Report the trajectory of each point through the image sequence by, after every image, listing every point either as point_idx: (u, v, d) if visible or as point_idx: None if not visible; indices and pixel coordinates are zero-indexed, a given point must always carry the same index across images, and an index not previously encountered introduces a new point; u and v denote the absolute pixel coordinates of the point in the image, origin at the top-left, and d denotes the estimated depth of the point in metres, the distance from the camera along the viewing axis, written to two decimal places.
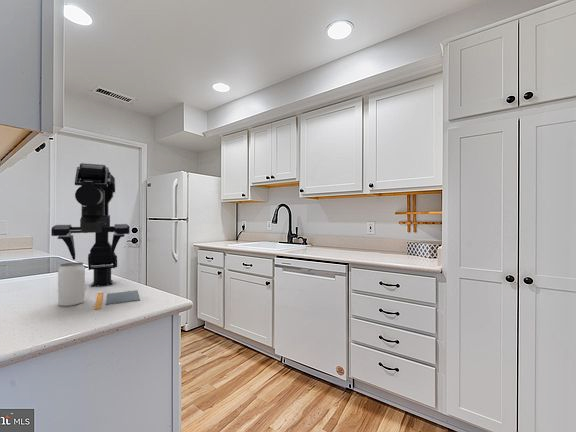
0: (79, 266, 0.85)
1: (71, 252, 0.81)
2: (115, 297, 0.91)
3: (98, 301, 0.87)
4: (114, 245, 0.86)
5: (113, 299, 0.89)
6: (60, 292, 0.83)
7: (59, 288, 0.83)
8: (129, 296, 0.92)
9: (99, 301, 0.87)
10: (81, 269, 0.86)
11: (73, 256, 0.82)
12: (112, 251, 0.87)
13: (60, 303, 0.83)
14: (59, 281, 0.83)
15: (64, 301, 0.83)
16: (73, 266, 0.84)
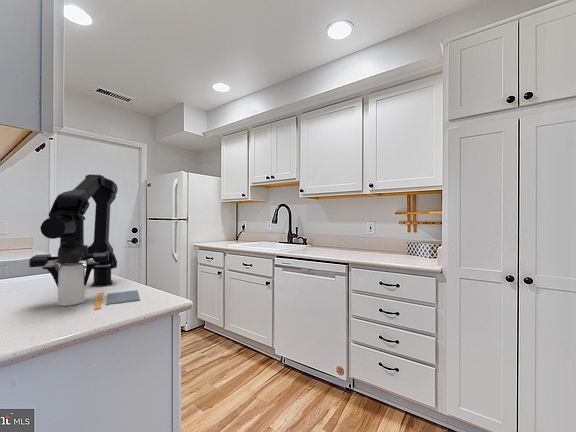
0: (79, 266, 0.85)
1: (56, 281, 0.83)
2: (115, 297, 0.91)
3: (98, 301, 0.87)
4: (88, 273, 0.87)
5: (113, 299, 0.89)
6: (60, 292, 0.83)
7: (59, 288, 0.83)
8: (129, 296, 0.92)
9: (99, 301, 0.87)
10: (80, 269, 0.86)
11: None
12: (86, 279, 0.87)
13: (60, 303, 0.83)
14: (59, 281, 0.83)
15: (64, 301, 0.83)
16: (73, 266, 0.84)
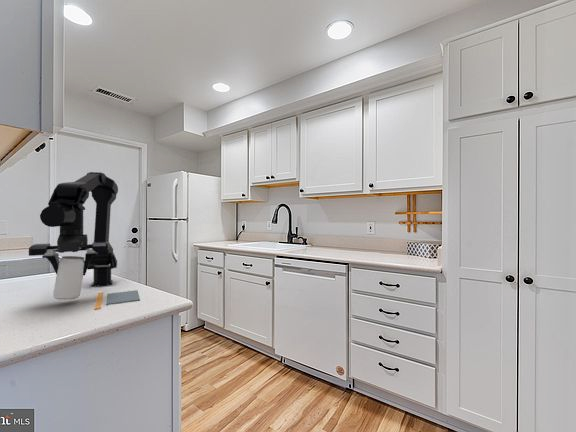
0: (80, 260, 0.86)
1: (56, 270, 0.83)
2: (115, 297, 0.91)
3: (98, 301, 0.87)
4: (87, 263, 0.87)
5: (113, 299, 0.89)
6: (57, 284, 0.83)
7: (57, 280, 0.83)
8: (129, 296, 0.92)
9: (99, 301, 0.87)
10: (81, 263, 0.86)
11: None
12: (85, 269, 0.87)
13: (55, 295, 0.82)
14: (58, 273, 0.83)
15: (59, 293, 0.82)
16: (74, 259, 0.84)
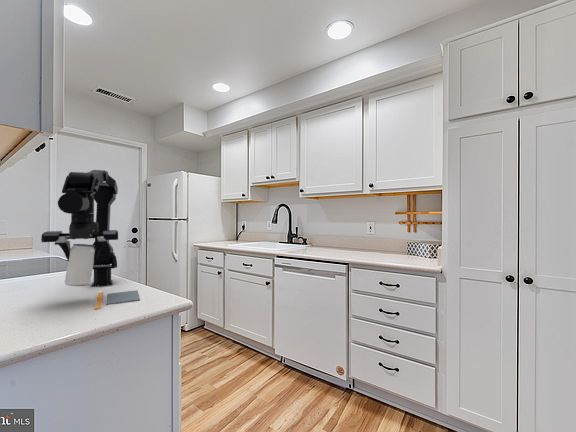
0: (91, 248, 0.87)
1: (67, 257, 0.85)
2: (115, 297, 0.91)
3: (98, 301, 0.87)
4: (97, 251, 0.88)
5: (113, 299, 0.89)
6: (69, 271, 0.84)
7: (68, 267, 0.84)
8: (129, 296, 0.92)
9: (99, 301, 0.87)
10: (92, 251, 0.87)
11: None
12: (95, 257, 0.88)
13: (67, 282, 0.84)
14: (69, 260, 0.84)
15: (71, 280, 0.84)
16: (85, 247, 0.86)
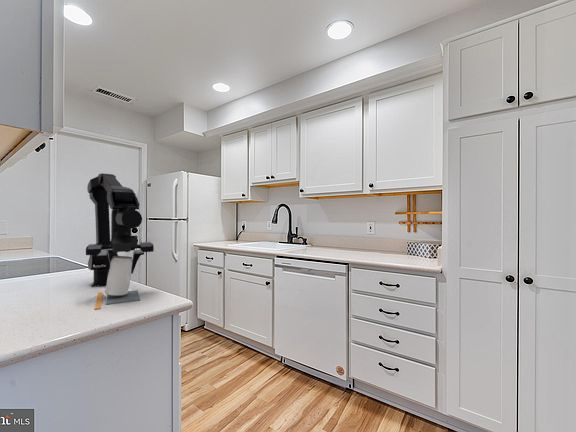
0: (129, 260, 0.92)
1: (108, 269, 0.90)
2: (115, 297, 0.91)
3: (98, 301, 0.87)
4: (134, 262, 0.94)
5: (113, 299, 0.89)
6: (109, 282, 0.89)
7: (109, 278, 0.90)
8: (129, 296, 0.92)
9: (99, 301, 0.87)
10: (130, 262, 0.93)
11: None
12: (133, 268, 0.94)
13: (108, 292, 0.89)
14: (110, 271, 0.90)
15: (112, 290, 0.89)
16: (125, 259, 0.91)
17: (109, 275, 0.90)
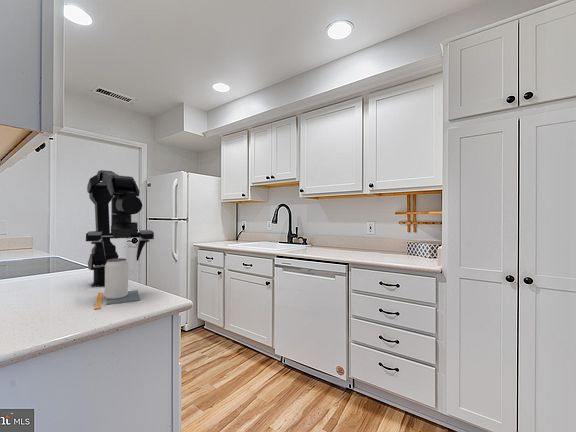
0: (124, 262, 0.91)
1: (102, 256, 0.89)
2: None
3: (98, 301, 0.87)
4: (140, 249, 0.94)
5: (113, 299, 0.89)
6: (107, 286, 0.89)
7: (106, 282, 0.89)
8: (129, 296, 0.92)
9: (99, 301, 0.87)
10: (125, 264, 0.92)
11: (104, 260, 0.90)
12: (138, 255, 0.94)
13: (107, 296, 0.89)
14: (106, 275, 0.89)
15: (111, 294, 0.89)
16: (119, 261, 0.90)
17: (106, 279, 0.89)
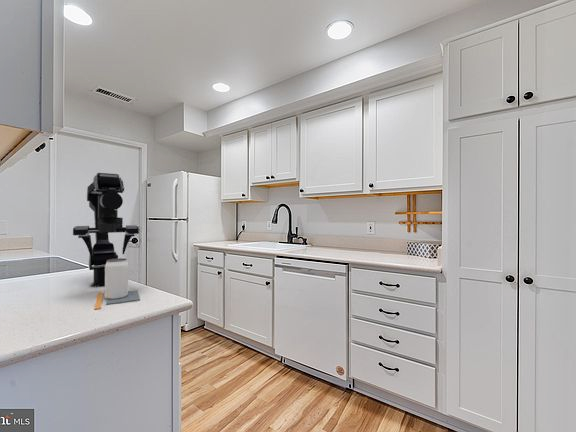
0: (124, 262, 0.91)
1: (89, 249, 0.94)
2: None
3: (98, 301, 0.87)
4: (125, 243, 0.99)
5: (113, 299, 0.89)
6: (107, 286, 0.89)
7: (106, 282, 0.89)
8: (129, 296, 0.92)
9: (99, 301, 0.87)
10: (125, 264, 0.92)
11: (91, 253, 0.94)
12: (124, 249, 0.99)
13: (107, 296, 0.89)
14: (106, 275, 0.89)
15: (111, 294, 0.89)
16: (119, 261, 0.90)
17: (106, 279, 0.89)
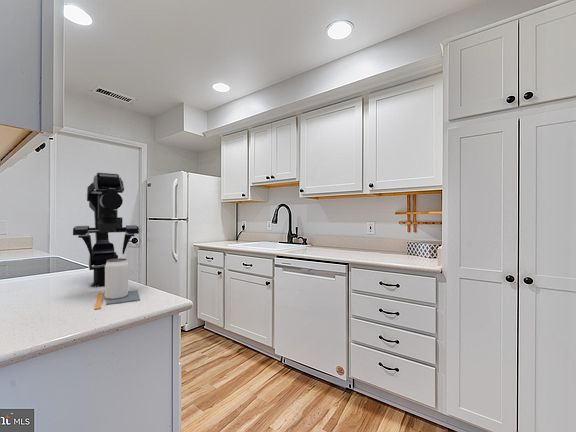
0: (124, 262, 0.91)
1: (89, 249, 0.94)
2: None
3: (98, 301, 0.87)
4: (125, 243, 0.99)
5: (113, 299, 0.89)
6: (107, 286, 0.89)
7: (106, 282, 0.89)
8: (129, 296, 0.92)
9: (99, 301, 0.87)
10: (125, 264, 0.92)
11: (91, 253, 0.94)
12: (124, 249, 0.99)
13: (107, 296, 0.89)
14: (106, 275, 0.89)
15: (111, 294, 0.89)
16: (119, 261, 0.90)
17: (106, 279, 0.89)
